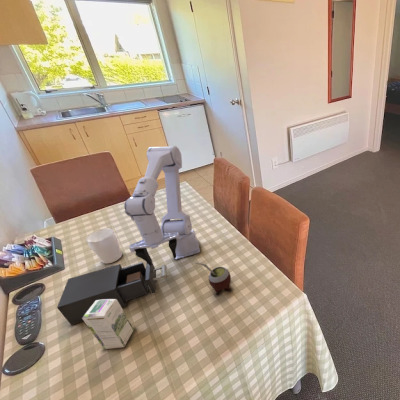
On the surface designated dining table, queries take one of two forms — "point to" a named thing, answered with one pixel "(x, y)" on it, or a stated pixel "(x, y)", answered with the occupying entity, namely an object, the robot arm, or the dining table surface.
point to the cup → (104, 245)
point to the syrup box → (108, 323)
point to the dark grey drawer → (137, 286)
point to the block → (134, 277)
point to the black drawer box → (89, 292)
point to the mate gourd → (218, 278)
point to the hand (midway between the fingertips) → (163, 259)
